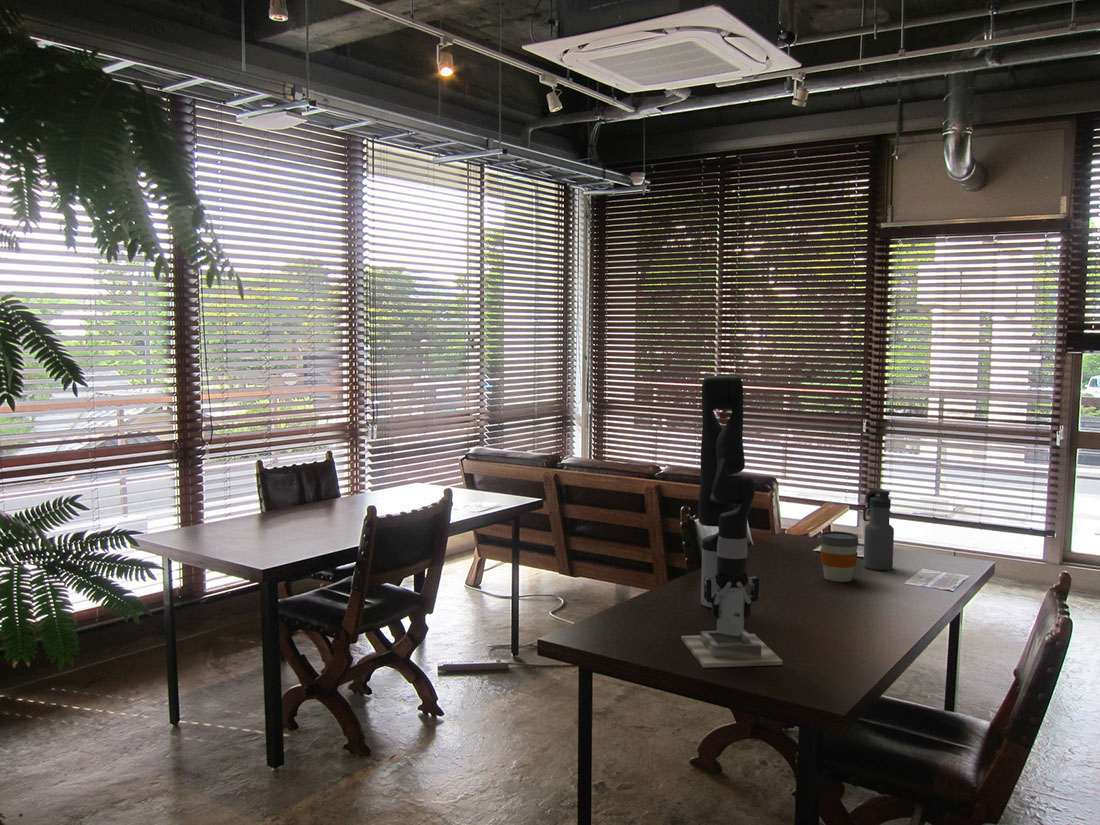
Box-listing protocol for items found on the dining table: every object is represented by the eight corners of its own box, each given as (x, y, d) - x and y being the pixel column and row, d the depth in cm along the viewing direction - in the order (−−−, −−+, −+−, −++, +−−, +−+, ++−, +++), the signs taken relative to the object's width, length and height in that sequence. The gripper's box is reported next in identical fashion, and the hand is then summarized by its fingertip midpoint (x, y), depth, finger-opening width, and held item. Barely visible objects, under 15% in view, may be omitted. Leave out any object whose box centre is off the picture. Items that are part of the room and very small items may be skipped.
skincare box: (716, 633, 213) (717, 586, 212) (721, 628, 217) (722, 582, 216) (739, 637, 210) (741, 589, 210) (744, 631, 214) (745, 585, 213)
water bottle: (856, 565, 304) (859, 489, 302) (876, 562, 308) (879, 487, 306) (878, 572, 295) (881, 493, 293) (898, 569, 299) (901, 491, 297)
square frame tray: (681, 639, 223) (681, 626, 223) (753, 637, 225) (754, 624, 225) (703, 667, 203) (703, 653, 203) (782, 664, 205) (782, 650, 205)
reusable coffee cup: (862, 583, 280) (864, 539, 279) (825, 583, 280) (826, 538, 279) (850, 573, 292) (851, 531, 291) (814, 573, 293) (815, 530, 292)
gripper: (754, 549, 217) (752, 612, 218) (700, 550, 215) (699, 613, 217) (764, 557, 210) (763, 621, 211) (709, 558, 208) (707, 623, 209)
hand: (730, 617), depth 214 cm, fingers closed on skincare box, 7 cm apart
